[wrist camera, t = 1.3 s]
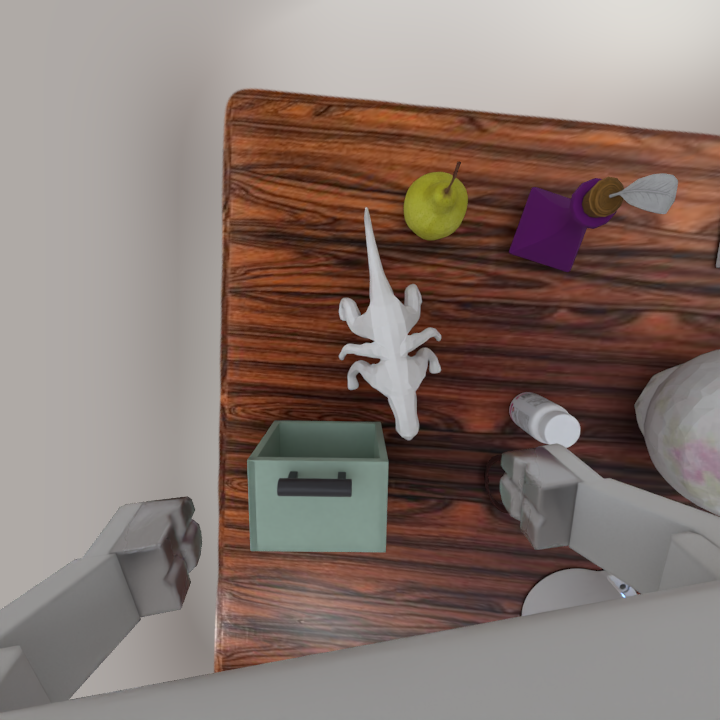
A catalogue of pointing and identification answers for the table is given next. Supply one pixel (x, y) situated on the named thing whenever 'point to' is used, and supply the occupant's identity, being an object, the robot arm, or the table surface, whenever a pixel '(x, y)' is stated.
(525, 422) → the pill bottle
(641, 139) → the table surface
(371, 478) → the basket
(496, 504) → the watch
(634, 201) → the perfume bottle
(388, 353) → the white toy dinosaur
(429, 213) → the fruit
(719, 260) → the smartphone
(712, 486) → the ceramic pitcher
